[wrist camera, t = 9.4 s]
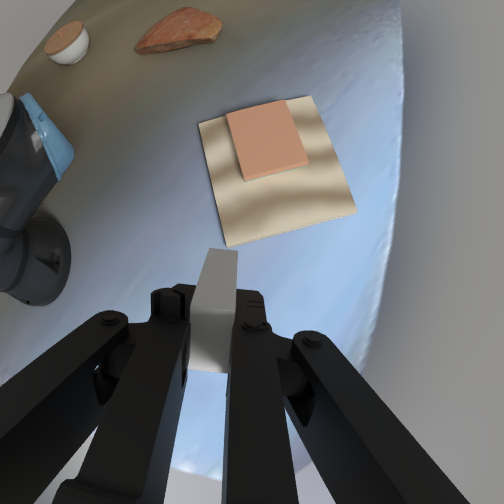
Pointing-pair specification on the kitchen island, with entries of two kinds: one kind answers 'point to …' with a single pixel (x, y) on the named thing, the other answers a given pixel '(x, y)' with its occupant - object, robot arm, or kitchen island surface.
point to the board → (276, 182)
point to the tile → (266, 140)
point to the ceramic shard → (180, 31)
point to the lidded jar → (68, 43)
